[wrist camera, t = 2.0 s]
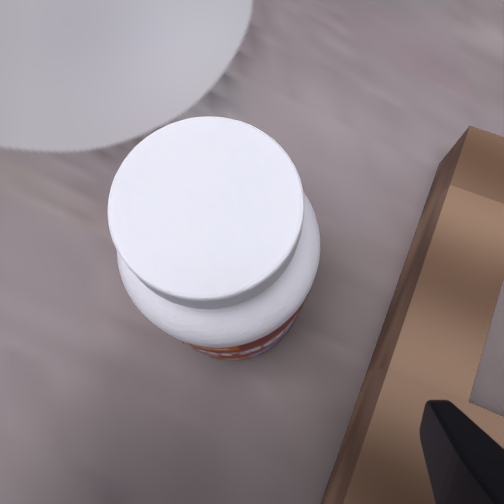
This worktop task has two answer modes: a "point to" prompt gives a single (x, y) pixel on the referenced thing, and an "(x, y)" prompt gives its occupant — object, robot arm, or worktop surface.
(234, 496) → the worktop surface
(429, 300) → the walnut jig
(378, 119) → the worktop surface
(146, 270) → the pill bottle
